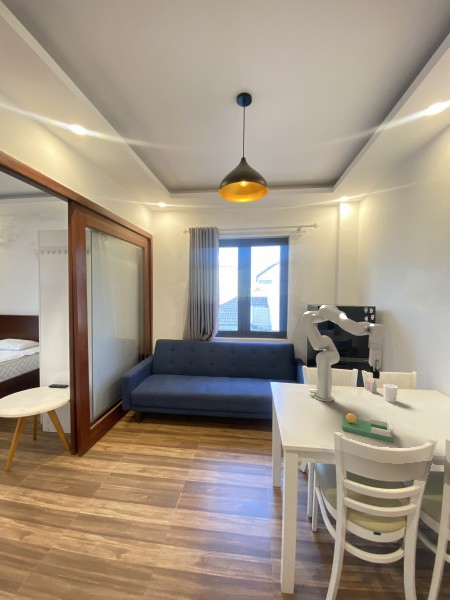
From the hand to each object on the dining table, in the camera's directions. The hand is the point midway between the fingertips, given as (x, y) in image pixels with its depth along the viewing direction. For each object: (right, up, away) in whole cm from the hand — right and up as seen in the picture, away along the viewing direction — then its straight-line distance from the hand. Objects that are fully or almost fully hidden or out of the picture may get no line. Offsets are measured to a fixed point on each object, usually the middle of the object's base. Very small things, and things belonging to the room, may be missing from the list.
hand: (374, 375), depth 140 cm
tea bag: (+22, -24, +40) cm, 51 cm away
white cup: (+25, -25, +25) cm, 43 cm away
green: (-12, -25, -12) cm, 30 cm away
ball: (-18, -20, -9) cm, 28 cm away
